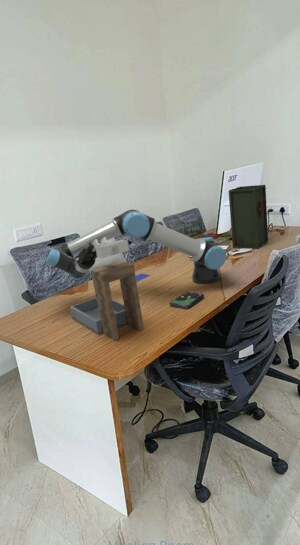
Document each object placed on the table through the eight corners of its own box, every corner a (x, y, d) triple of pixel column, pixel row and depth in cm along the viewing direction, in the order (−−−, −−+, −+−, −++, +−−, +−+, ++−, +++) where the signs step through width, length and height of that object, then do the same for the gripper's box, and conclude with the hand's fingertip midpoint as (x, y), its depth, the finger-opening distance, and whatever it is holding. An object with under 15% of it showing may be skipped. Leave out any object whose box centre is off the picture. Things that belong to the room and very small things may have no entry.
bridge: (103, 333, 156) (90, 270, 148) (131, 322, 163) (120, 261, 155) (114, 340, 148) (102, 274, 140) (143, 328, 155) (133, 264, 147)
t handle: (80, 252, 154) (78, 243, 153) (105, 245, 160) (104, 236, 159) (102, 258, 138) (100, 247, 137) (128, 250, 145) (127, 240, 144)
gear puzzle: (242, 236, 293) (242, 231, 292) (232, 241, 282) (232, 236, 280) (209, 235, 313) (208, 230, 312) (198, 240, 302) (197, 235, 301)
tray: (72, 318, 177) (69, 306, 175) (105, 306, 186) (103, 294, 184) (98, 334, 155) (95, 321, 153) (134, 320, 164) (132, 307, 163)
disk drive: (186, 296, 185) (169, 307, 174) (185, 291, 184) (169, 302, 173) (204, 299, 178) (188, 310, 167) (204, 293, 178) (188, 304, 167)
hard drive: (135, 281, 215) (149, 274, 224) (125, 279, 220) (139, 273, 229) (136, 283, 215) (150, 277, 224) (126, 282, 221) (140, 275, 229)
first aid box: (258, 248, 249) (254, 188, 238) (232, 248, 260) (228, 190, 249) (268, 242, 263) (265, 184, 251) (243, 241, 274) (239, 186, 263)
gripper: (103, 264, 172) (122, 244, 152) (71, 274, 164) (86, 254, 144) (97, 250, 173) (115, 228, 153) (65, 259, 165) (79, 237, 145)
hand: (101, 241), depth 149 cm, fingers closed on t handle, 3 cm apart
